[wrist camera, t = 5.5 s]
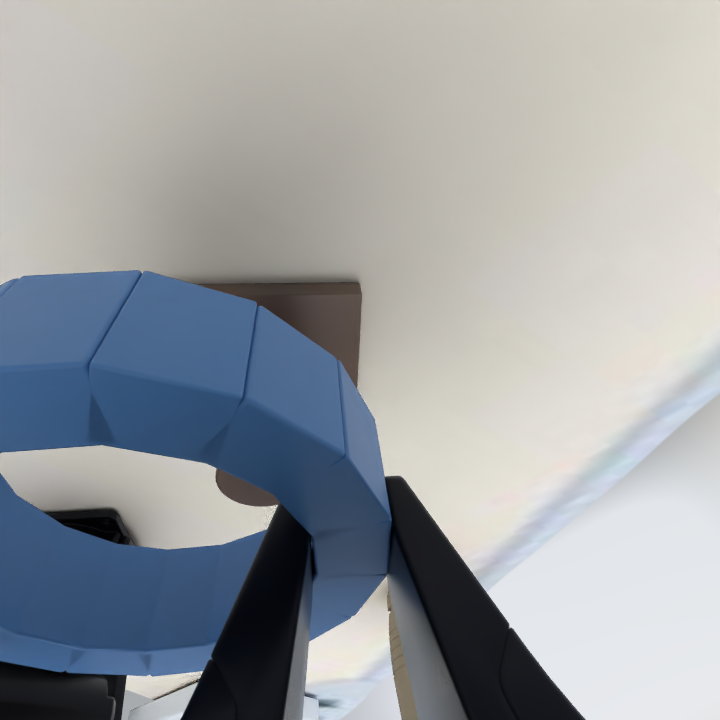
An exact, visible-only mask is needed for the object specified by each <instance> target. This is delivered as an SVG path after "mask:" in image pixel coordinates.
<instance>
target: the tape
mask: <svg viewBox="0 0 720 720" xmlns="http://www.w3.org/2000/svg"><path fill="white" fill-rule="evenodd" d="M96 445H105V446H110V447H116V448H122V449H128V450H133V451H139V452H145V453H151V454H157V455H162V456H168V457H174V458H180V459H185V460H191V461H197V462H203V463H207V464H209V465H211V466H213V467H215V468H218V469H220V470H222V471H224V472H226V473H228V474H230V475H233V476H235V477H237V478H239V479H241V480H243V481H245V482H247V483H250V484H252V485H254V486H256V487H258V488H260V489H262V490H265V491H267V492H269V493H271V494H273V495H274V496H275V498H276V499H277V500H278V501H279V502H280V503H281V504H282V505H283V506H284V507H285V508H286V509H287V510H288V511H289V512H290V514H291V515H292V516H293V517H294V518H295V519H296V520H297V521H298V522H299V523H300V524H301V525H302V526H303V527H304V528H305V530H306V531H307V532H308V533H309V534H310V535H311V547H312V582H313V593H312V609H311V621H310V633H309V641H311V640H313V639H315V638H316V637H318V636H320V635H322V634H323V633H325V632H327V631H329V630H330V629H332V628H334V627H336V626H337V625H339V624H341V623H343V622H345V621H346V620H348V619H350V618H351V616H354V615H355V614H356V613H357V612H358V611H359V609H360V608H361V607H362V606H363V604H364V603H365V602H366V601H367V599H368V598H369V597H370V596H371V595H372V593H373V592H374V591H375V590H376V588H377V587H378V586H379V585H380V583H381V582H382V581H383V580H384V578H385V577H386V575H387V573H388V566H389V554H390V539H391V521H392V519H391V513H390V507H389V501H388V495H387V489H386V483H385V477H384V471H383V465H382V459H381V453H380V447H379V441H378V435H377V429H376V424H375V419H374V417H373V416H372V414H371V412H370V411H369V409H368V407H367V405H366V404H365V402H364V400H363V399H362V397H361V395H360V394H359V392H358V390H357V388H356V387H355V385H354V383H353V382H352V380H351V378H350V377H349V375H348V373H347V372H346V370H345V368H344V366H343V365H342V363H341V362H340V361H339V360H336V358H335V357H334V356H333V355H331V354H330V353H329V352H327V351H326V350H324V349H323V348H322V347H320V346H319V345H317V344H316V343H314V342H313V341H312V340H310V339H309V338H307V337H306V336H304V335H303V334H302V333H300V332H299V331H297V330H296V329H294V328H293V327H292V326H290V325H289V324H287V323H286V322H284V321H283V320H282V319H280V318H279V317H277V316H276V315H274V314H273V313H272V312H270V311H269V310H267V309H266V308H264V307H263V306H258V307H257V303H256V302H255V301H252V300H248V299H245V298H241V297H238V296H234V295H230V294H227V293H223V292H220V291H216V290H213V289H209V288H206V287H202V286H199V285H195V284H192V283H188V282H184V281H181V280H177V279H174V278H170V277H167V276H163V275H160V274H156V273H153V272H149V271H144V272H143V273H141V271H138V270H133V271H113V272H93V273H73V274H53V275H33V276H23V277H21V278H20V279H12V280H10V281H8V282H6V283H4V284H2V285H0V453H2V452H15V451H29V450H42V449H56V448H69V447H83V446H96ZM266 531H267V530H264V531H261V532H258V533H255V534H252V535H250V536H247V537H244V538H241V539H238V540H235V541H232V542H229V543H226V544H223V545H215V546H204V547H193V548H182V549H171V550H165V549H156V548H148V547H139V546H131V545H122V544H116V543H113V542H110V541H107V540H104V539H101V538H98V537H95V536H92V535H89V534H86V533H83V532H80V531H77V530H74V529H71V528H69V527H66V526H64V525H62V524H61V523H59V522H58V521H56V520H55V519H53V518H52V517H50V516H48V515H47V514H45V513H44V512H42V511H41V510H39V509H38V508H36V507H34V506H33V505H31V504H30V503H28V502H27V501H25V500H24V499H22V498H21V497H19V496H17V495H16V493H15V492H14V491H13V489H12V488H11V487H10V485H9V484H8V483H7V481H6V480H5V479H4V477H3V476H2V475H1V473H0V661H3V662H8V663H13V664H19V665H24V666H29V667H35V668H40V669H46V670H51V671H56V672H64V671H65V670H66V672H68V673H85V674H111V675H136V676H147V675H151V676H161V675H170V674H180V673H189V672H198V671H204V669H205V666H206V664H207V662H208V660H210V659H212V658H211V654H212V651H213V649H214V647H215V645H216V642H217V640H218V638H219V636H220V634H221V631H222V629H223V627H224V625H225V622H226V620H227V618H228V616H229V614H230V611H231V609H232V607H233V605H234V602H235V600H236V598H237V596H238V593H239V591H240V589H241V587H242V585H243V582H244V580H245V578H246V576H247V573H248V571H249V569H250V567H251V565H252V562H253V560H254V558H255V556H256V553H257V551H258V549H259V547H260V544H261V542H262V540H263V538H264V536H265V533H266Z"/></svg>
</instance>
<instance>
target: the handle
mask: <svg viewBox="0 0 720 720" xmlns="http://www.w3.org/2000/svg"><path fill="white" fill-rule="evenodd" d="M387 605H388V611H391V613H390V614H389V636H390V651H391V661H392V666H393V667H392V668H393V675H394V681H395V686H396V692H397V697H398V702H399V707H400V712H401V718H402V720H419V719H418V715H417V710H416V706H415V702H414V697H413V693H412V689H411V684H410V680H409V675H408V671H407V667H406V662H405V658H404V654H403V649H402V645H401V640H400V636H399V632H398V627H397V623H396V619H395V614H394V610H393V606H392V601H391V597H390V593H389V594H388V596H387Z"/></svg>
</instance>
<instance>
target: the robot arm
mask: <svg viewBox="0 0 720 720" xmlns="http://www.w3.org/2000/svg"><path fill="white" fill-rule="evenodd" d="M385 483H386V489H387V495H388V501H389V507H390V513H391V519H392V521H391V539H390V554H389V566H388V573H387V581H388V587H389V592H390V597H391V601H392V606H393V610H394V614H395V619H396V623H397V627H398V632H399V636H400V640H401V645H402V649H403V654H404V658H405V662H406V667H407V671H408V675H409V680H410V684H411V689H412V693H413V697H414V702H415V706H416V710H417V715H418V719H419V720H585V718H583V716H582V715H581V714H580V713H579V712H578V711H577V709H576V708H575V707H574V706H573V705H572V704H571V702H570V701H569V700H568V699H567V698H566V696H565V695H564V694H563V693H562V692H561V691H560V689H559V688H558V687H557V686H556V684H555V683H554V682H553V681H552V680H551V679H550V677H549V676H548V675H547V674H546V672H545V671H544V670H543V668H542V667H541V666H540V664H539V663H538V662H537V661H536V659H535V658H534V657H533V655H532V654H531V653H530V651H529V650H528V649H527V647H526V646H525V645H524V643H523V642H522V641H521V639H520V638H519V636H518V635H517V634H516V632H515V631H514V629H512V628H509V623H508V622H507V620H506V619H505V617H504V616H503V615H502V613H501V612H500V611H499V609H498V608H497V607H496V605H495V604H494V602H493V601H492V600H491V598H490V597H489V595H488V594H487V593H486V591H485V590H484V588H483V587H482V586H481V584H480V583H479V582H478V580H477V579H476V577H475V576H474V575H473V573H472V572H471V571H470V569H469V568H468V566H467V565H466V564H465V562H464V561H463V560H462V558H461V557H460V555H459V554H458V553H457V551H456V550H455V549H454V547H453V546H452V544H451V543H450V542H449V540H448V539H447V538H446V536H445V535H444V533H443V532H442V531H441V529H440V528H439V527H438V525H437V524H436V522H435V521H434V520H433V518H432V517H431V515H430V514H429V513H428V511H427V510H426V509H425V507H424V506H423V504H422V503H421V502H420V500H419V499H418V498H417V496H416V495H415V493H414V492H413V491H412V489H411V488H410V487H409V485H408V484H407V482H406V481H405V480H404V479H403V478H402V477H401V476H387V477H385ZM47 515H48V516H50V517H52V518H53V519H55V520H56V521H58V522H59V523H61V524H62V525H64V526H66V527H69V528H71V529H74V530H77V531H80V532H83V533H86V534H89V535H92V536H95V537H98V538H101V539H104V540H107V541H110V542H113V543H116V544H122V545H131V546H134V544H133V542H132V540H131V538H130V537H129V536H128V534H127V532H126V530H125V528H124V525H123V523H122V521H121V519H120V517H119V515H118V514H117V513H116V512H114V511H91V512H74V513H57V514H47ZM312 593H313V582H312V547H311V535H310V534H309V533H308V532H307V531H306V530H305V528H304V527H303V526H302V525H301V524H300V523H299V522H298V521H297V520H296V519H295V518H294V517H293V516H292V515H291V514H290V512H289V511H288V510H287V509H286V508H285V507H284V506H283V505H282V504H281V503H280V502H279V504H278V507H277V509H276V511H275V513H274V516H273V518H272V520H271V522H270V524H269V527H268V529H267V531H266V533H265V536H264V538H263V540H262V542H261V544H260V547H259V549H258V551H257V553H256V556H255V558H254V560H253V562H252V565H251V567H250V569H249V571H248V573H247V576H246V578H245V580H244V582H243V585H242V587H241V589H240V591H239V593H238V596H237V598H236V600H235V602H234V605H233V607H232V609H231V611H230V614H229V616H228V618H227V620H226V622H225V625H224V627H223V629H222V631H221V634H220V636H219V638H218V640H217V642H216V645H215V647H214V649H213V651H212V654H211V658H212V659H210V660H208V662H207V664H206V666H205V669H204V671H203V673H202V675H201V678H200V680H199V682H198V684H197V686H196V688H195V690H194V692H193V695H192V697H191V699H190V701H189V703H188V705H187V707H186V709H185V711H184V713H183V715H182V717H181V719H180V720H302V718H303V706H304V694H305V682H306V670H307V658H308V646H309V633H310V621H311V609H312ZM126 676H127V675H111V674H85V673H68V672H66V670H65V671H64V672H56V671H51V670H46V669H40V668H35V667H29V666H24V665H19V664H13V663H8V662H3V661H0V720H121V715H122V708H123V700H124V692H125V684H126Z"/></svg>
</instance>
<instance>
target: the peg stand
mask: <svg viewBox="0 0 720 720" xmlns="http://www.w3.org/2000/svg"><path fill="white" fill-rule="evenodd" d="M195 285H199V286H202V287H206V288H209V289H213V290H216V291H220V292H223V293H227V294H230V295H234V296H238V297H241V298H245V299H248V300H252V301H255V302H256V303H257V307H258V306H263V307H264V308H266V309H267V310H269V311H270V312H272V313H273V314H274V315H276V316H277V317H279V318H280V319H282V320H283V321H284V322H286V323H287V324H289V325H290V326H292V327H293V328H294V329H296V330H297V331H299V332H300V333H302V334H303V335H304V336H306V337H307V338H309V339H310V340H312V341H313V342H314V343H316V344H317V345H319V346H320V347H322V348H323V349H324V350H326V351H327V352H329V353H330V354H331V355H333V356H334V357H335V358H336V360H339V361H340V362H341V363H342V365H343V366H344V368H345V370H346V372H347V373H348V375H349V377H350V378H351V380H352V382H353V383H354V385H355V387H356V388H357V379H358V360H359V341H360V321H361V302H362V292H361V288H360V283H274V284H195ZM216 482H217V485H218V487H219V489H220V490H221V492H222V493H223V494H224V495H225V496H227V497H228V498H230V499H232V500H233V501H236V502H238V503H241V504H245V505H250V506H273V505H278V504H279V501H278V500H277V499H276V498H275V496H274V495H273V494H271V493H269V492H267V491H265V490H262V489H260V488H258V487H256V486H254V485H252V484H250V483H247V482H245V481H243V480H241V479H239V478H237V477H235V476H233V475H230V474H228V473H226V472H224V471H222V470H220V469H218V468H217V470H216Z"/></svg>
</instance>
